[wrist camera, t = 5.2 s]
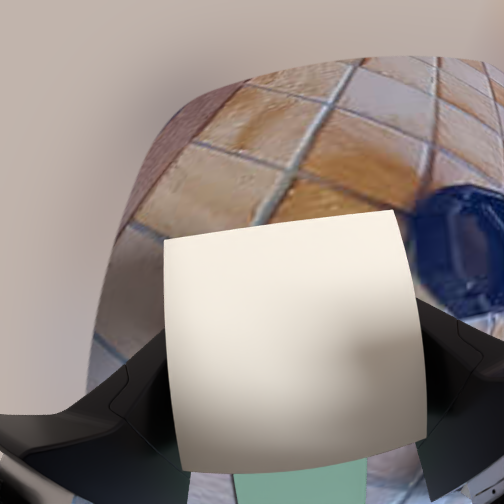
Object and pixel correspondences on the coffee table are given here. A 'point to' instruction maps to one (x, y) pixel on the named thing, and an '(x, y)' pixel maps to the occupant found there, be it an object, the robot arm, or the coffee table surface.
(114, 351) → the coffee table surface
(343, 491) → the green mat
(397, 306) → the cream block
